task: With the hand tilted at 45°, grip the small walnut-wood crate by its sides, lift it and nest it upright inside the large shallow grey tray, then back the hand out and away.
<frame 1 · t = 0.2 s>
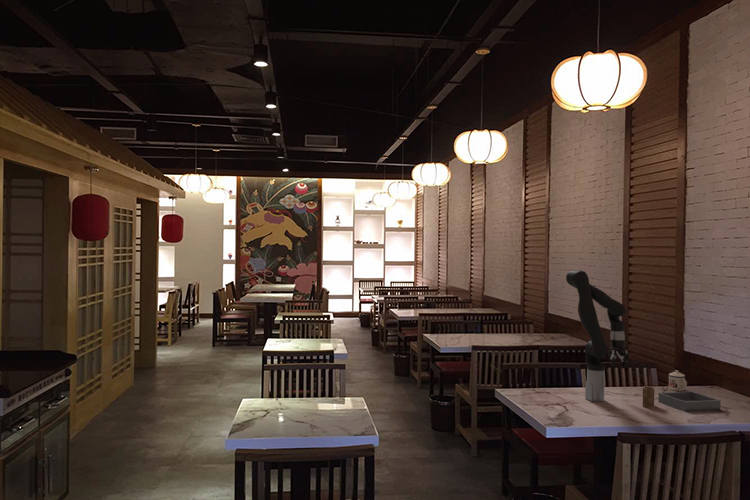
hand: (618, 367, 321), 18 cm above the table, tool pointing down, fingers open, 8 cm apart
teacup with lid: (678, 390, 344), on the table
grey tray: (688, 405, 308), on the table
walnut crate: (648, 406, 307), on the table
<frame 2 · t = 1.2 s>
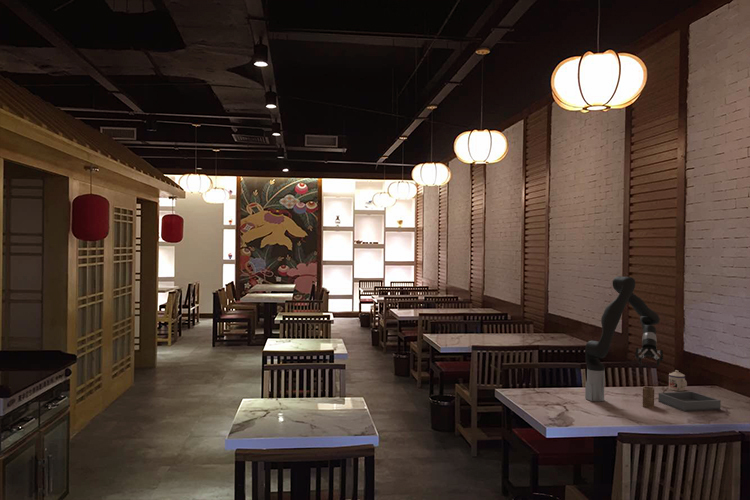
hand: (649, 364, 317), 20 cm above the table, tool tilted 45°, fingers open, 8 cm apart
nothing on the table moved.
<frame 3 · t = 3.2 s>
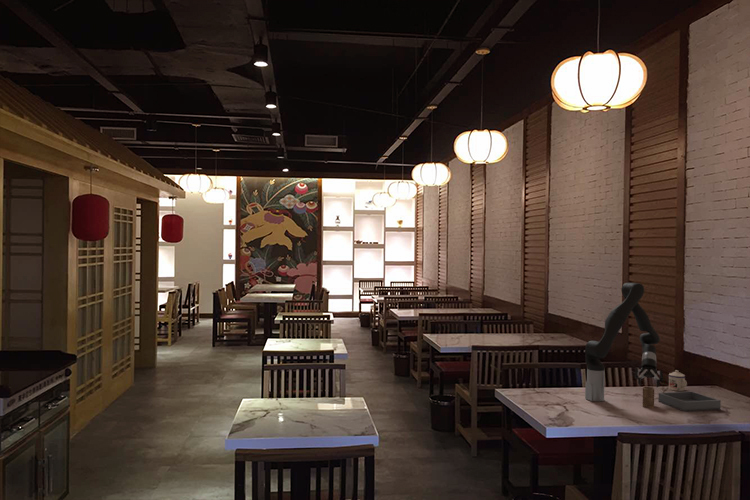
hand: (648, 385, 312), 10 cm above the table, tool tilted 45°, fingers open, 8 cm apart
nothing on the table moved.
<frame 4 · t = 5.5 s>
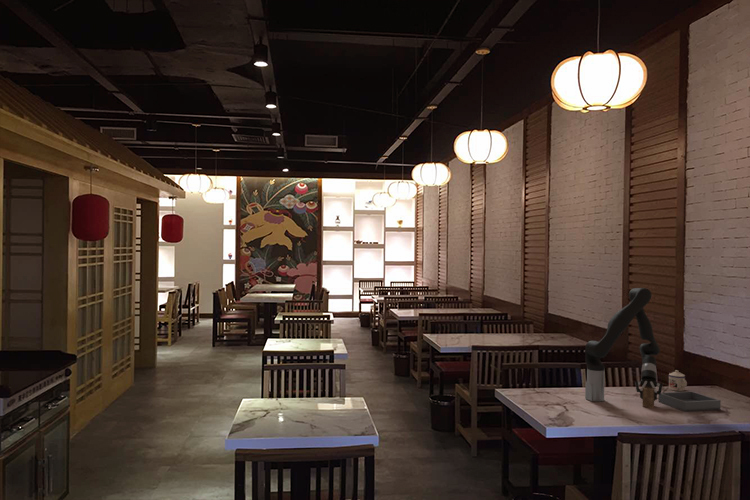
hand: (648, 399, 305), 4 cm above the table, tool tilted 45°, fingers closed on walnut crate, 5 cm apart
walnut crate: (648, 406, 307), on the table, touching gripper
everything else where it was.
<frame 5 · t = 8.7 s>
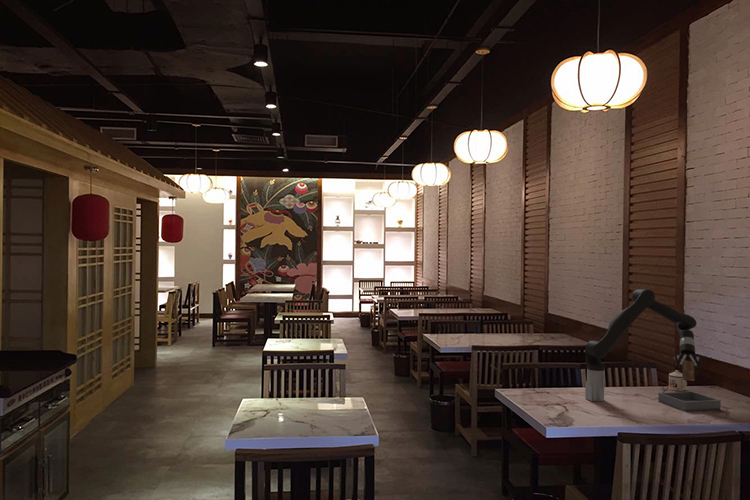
hand: (688, 372, 307), 19 cm above the table, tool tilted 45°, fingers closed on walnut crate, 5 cm apart
walnut crate: (688, 379, 309), point 14 cm above the table, touching gripper
everything else where it was.
when the fingers open (7 cm above the table, at t = 11.9 s): walnut crate drops 1 cm, resting on grey tray.
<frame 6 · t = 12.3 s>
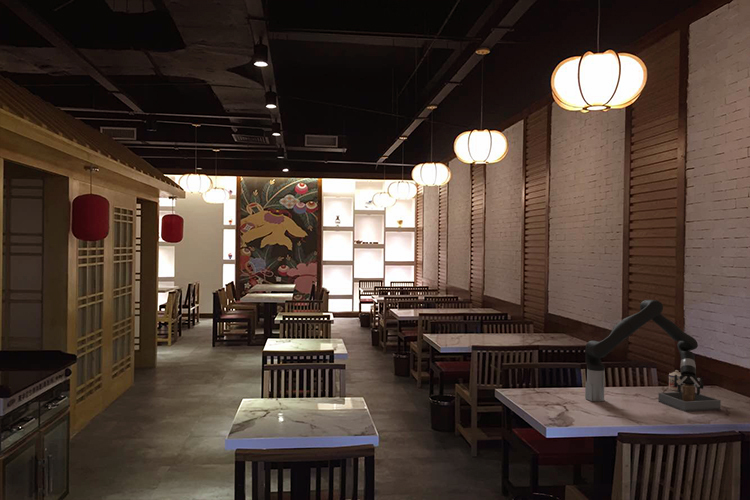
hand: (688, 393, 307), 7 cm above the table, tool tilted 45°, fingers open, 8 cm apart
walnut crate: (688, 403, 309), point 1 cm above the table, touching grey tray
everything else where it was.
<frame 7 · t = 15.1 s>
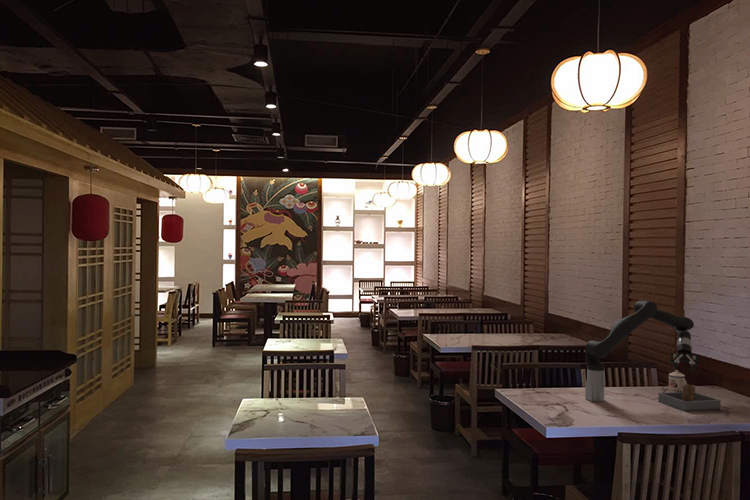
hand: (684, 369, 319), 17 cm above the table, tool tilted 45°, fingers open, 8 cm apart
nothing on the table moved.
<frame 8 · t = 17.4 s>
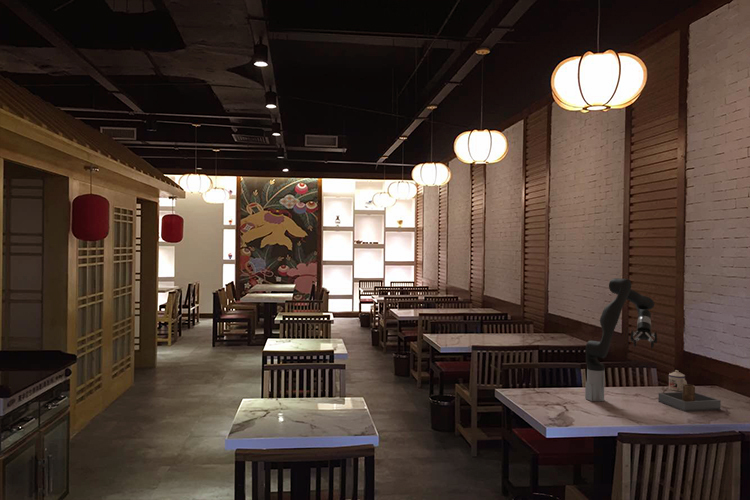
hand: (643, 347, 329), 29 cm above the table, tool tilted 45°, fingers open, 8 cm apart
nothing on the table moved.
at the end: walnut crate inside the target area on the grey tray (0.1 cm from its centre), point 1.0 cm above the grey tray's base; walnut crate tilted 0°; the gripper is holding nothing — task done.
